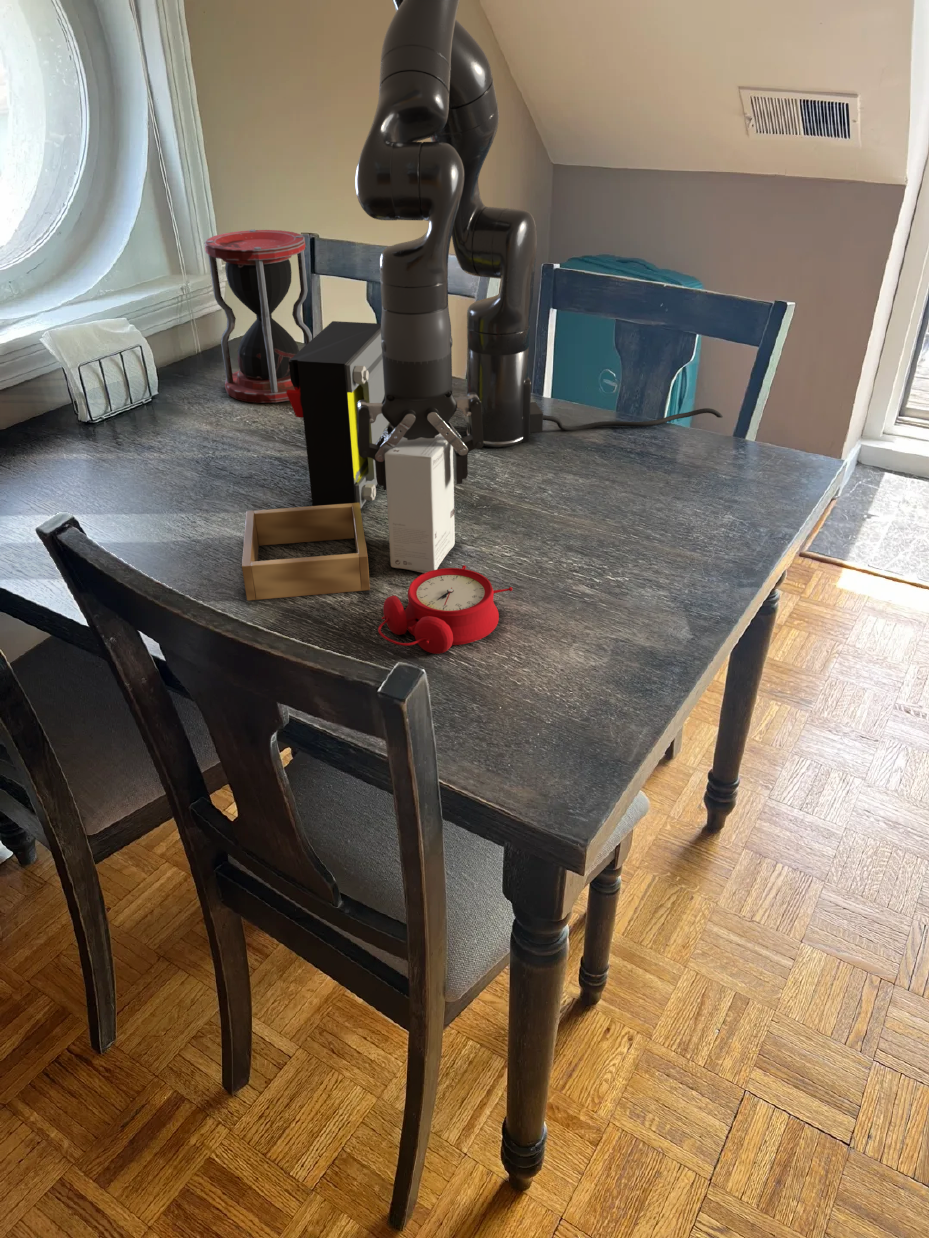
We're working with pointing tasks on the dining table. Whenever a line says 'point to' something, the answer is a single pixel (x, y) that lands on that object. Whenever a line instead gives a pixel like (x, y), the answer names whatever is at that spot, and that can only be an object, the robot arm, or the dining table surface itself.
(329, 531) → the wooden frame
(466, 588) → the alarm clock
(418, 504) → the cosmetic box
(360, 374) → the electrical component
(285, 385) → the hourglass
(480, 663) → the dining table surface
